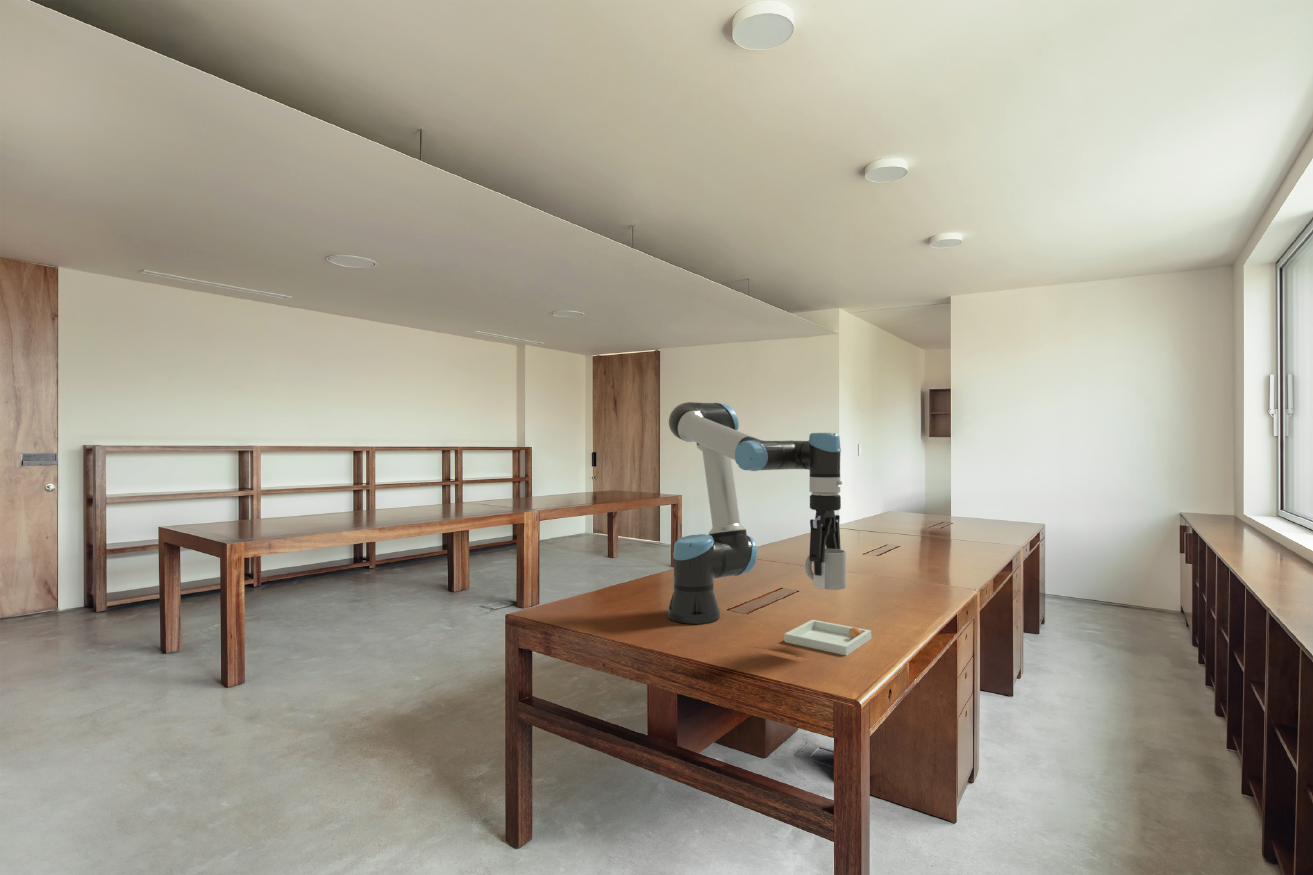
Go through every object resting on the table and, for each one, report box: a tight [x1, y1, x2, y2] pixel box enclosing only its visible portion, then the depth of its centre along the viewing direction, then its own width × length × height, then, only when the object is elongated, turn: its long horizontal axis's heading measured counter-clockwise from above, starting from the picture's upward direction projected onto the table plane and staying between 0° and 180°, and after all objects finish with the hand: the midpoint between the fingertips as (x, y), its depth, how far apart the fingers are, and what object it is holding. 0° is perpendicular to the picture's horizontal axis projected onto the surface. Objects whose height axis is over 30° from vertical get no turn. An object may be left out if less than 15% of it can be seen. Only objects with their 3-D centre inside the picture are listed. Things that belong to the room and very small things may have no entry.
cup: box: [804, 548, 847, 591], centre depth 153 cm, size 7×10×9 cm
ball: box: [849, 626, 861, 639], centre depth 155 cm, size 3×3×3 cm
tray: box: [783, 619, 872, 656], centre depth 154 cm, size 16×16×3 cm
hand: (825, 585), depth 154 cm, fingers closed on cup, 7 cm apart
